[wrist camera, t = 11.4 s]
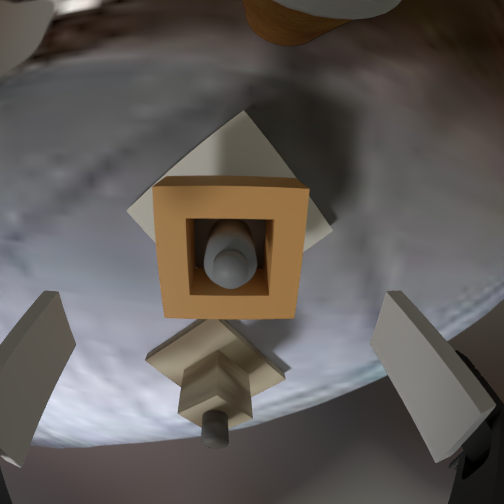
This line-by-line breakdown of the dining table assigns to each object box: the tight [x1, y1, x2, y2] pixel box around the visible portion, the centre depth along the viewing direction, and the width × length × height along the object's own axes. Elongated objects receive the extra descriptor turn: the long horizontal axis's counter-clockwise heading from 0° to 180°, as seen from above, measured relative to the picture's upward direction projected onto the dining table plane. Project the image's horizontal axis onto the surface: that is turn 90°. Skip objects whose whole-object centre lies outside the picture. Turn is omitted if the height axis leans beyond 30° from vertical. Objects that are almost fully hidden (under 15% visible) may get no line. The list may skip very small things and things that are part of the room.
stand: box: [145, 319, 285, 449], centre depth 26 cm, size 12×10×10 cm
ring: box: [152, 175, 310, 319], centre depth 17 cm, size 8×8×4 cm
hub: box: [127, 110, 333, 289], centre depth 19 cm, size 12×12×10 cm
